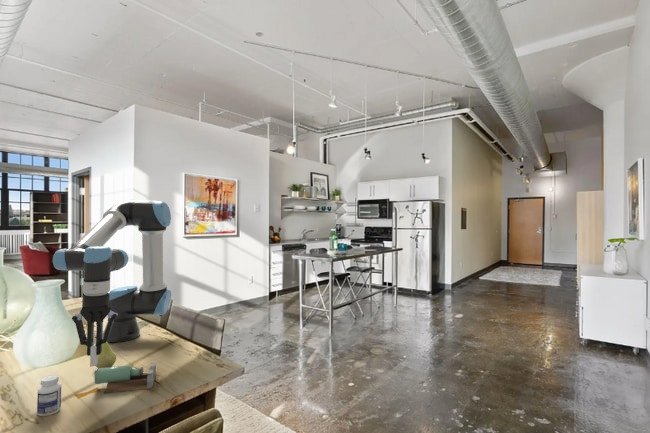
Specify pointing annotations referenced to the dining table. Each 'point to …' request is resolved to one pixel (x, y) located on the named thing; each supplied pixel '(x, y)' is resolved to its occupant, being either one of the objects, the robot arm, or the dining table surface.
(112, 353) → the fruit
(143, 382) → the cradle
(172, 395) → the dining table surface
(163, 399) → the dining table surface
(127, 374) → the bottle
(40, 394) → the pill bottle
